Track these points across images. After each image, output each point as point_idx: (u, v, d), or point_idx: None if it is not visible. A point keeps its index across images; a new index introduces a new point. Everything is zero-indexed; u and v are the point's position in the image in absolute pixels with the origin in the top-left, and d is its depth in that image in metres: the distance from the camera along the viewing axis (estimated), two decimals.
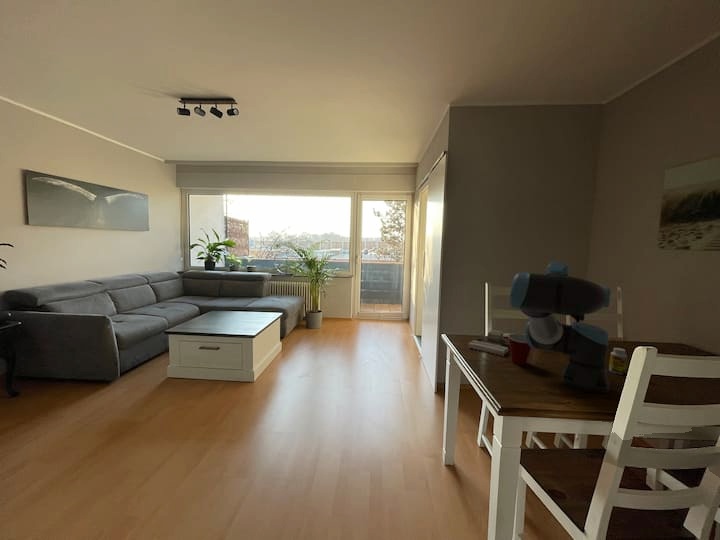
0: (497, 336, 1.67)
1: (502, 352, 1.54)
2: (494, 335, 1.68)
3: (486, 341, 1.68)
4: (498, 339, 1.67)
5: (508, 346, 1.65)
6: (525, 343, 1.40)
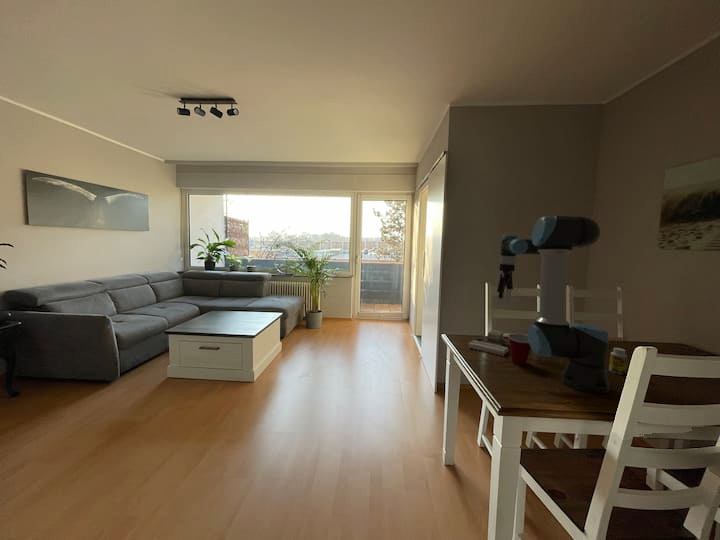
0: (497, 336, 1.67)
1: (502, 352, 1.54)
2: (494, 335, 1.68)
3: (486, 341, 1.68)
4: (498, 339, 1.67)
5: (508, 346, 1.65)
6: (525, 343, 1.40)
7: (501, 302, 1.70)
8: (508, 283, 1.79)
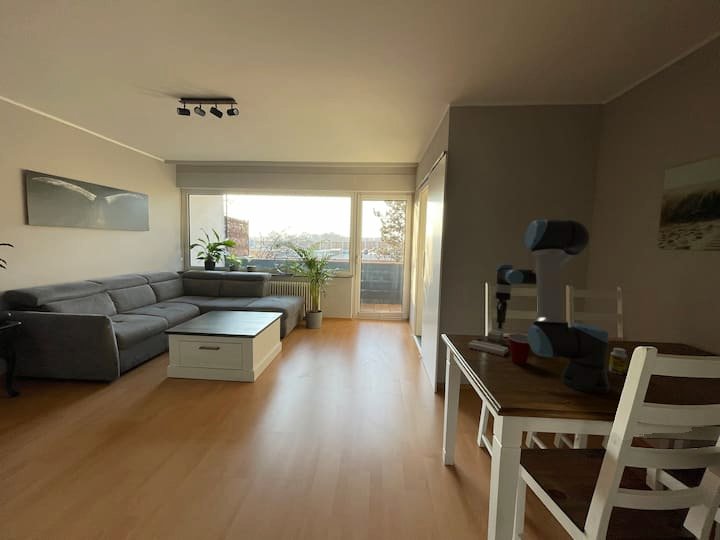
0: (497, 336, 1.67)
1: (502, 352, 1.54)
2: (494, 335, 1.68)
3: (486, 341, 1.68)
4: (498, 339, 1.67)
5: (508, 346, 1.65)
6: (525, 343, 1.40)
7: None
8: None
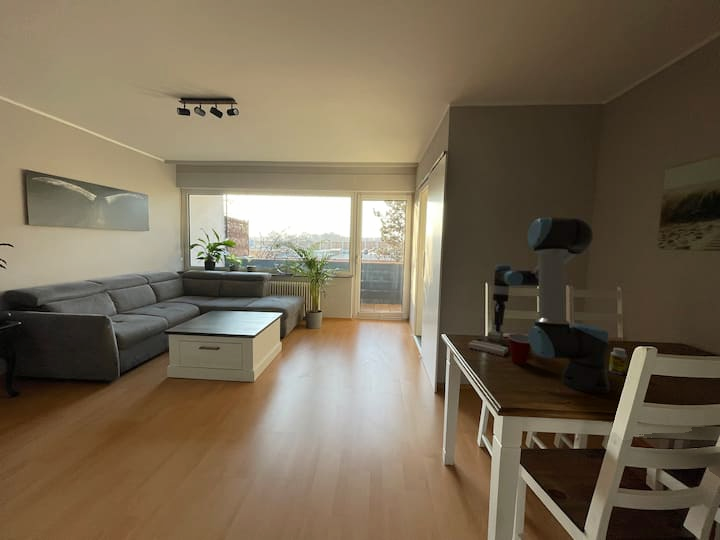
0: (497, 336, 1.67)
1: (502, 352, 1.54)
2: (494, 335, 1.68)
3: (486, 341, 1.68)
4: (498, 339, 1.67)
5: (508, 346, 1.65)
6: (525, 343, 1.40)
7: None
8: None
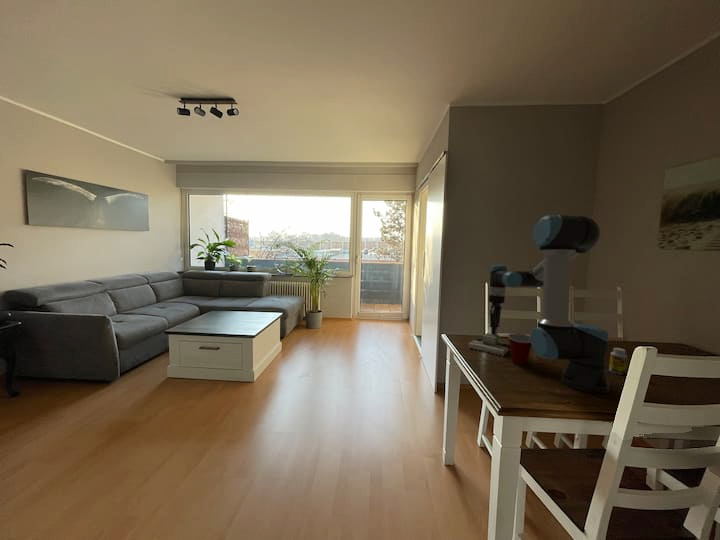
0: (492, 339, 1.61)
1: (502, 352, 1.54)
2: (489, 338, 1.62)
3: None
4: (494, 342, 1.61)
5: (508, 346, 1.65)
6: (525, 343, 1.40)
7: None
8: None
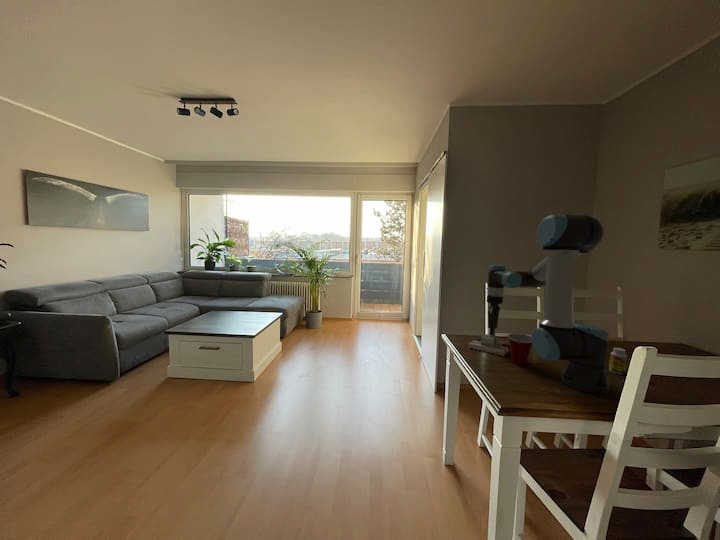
0: (491, 340, 1.59)
1: (502, 352, 1.54)
2: (487, 339, 1.60)
3: None
4: (492, 344, 1.59)
5: (508, 346, 1.65)
6: (525, 343, 1.40)
7: None
8: None
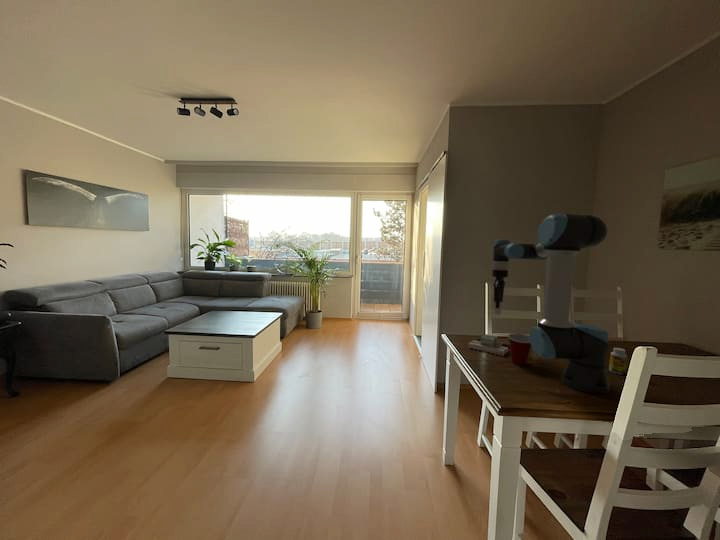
0: (490, 340, 1.59)
1: (502, 352, 1.54)
2: (487, 339, 1.60)
3: None
4: (492, 344, 1.59)
5: (508, 346, 1.65)
6: (525, 343, 1.40)
7: (498, 312, 1.69)
8: None
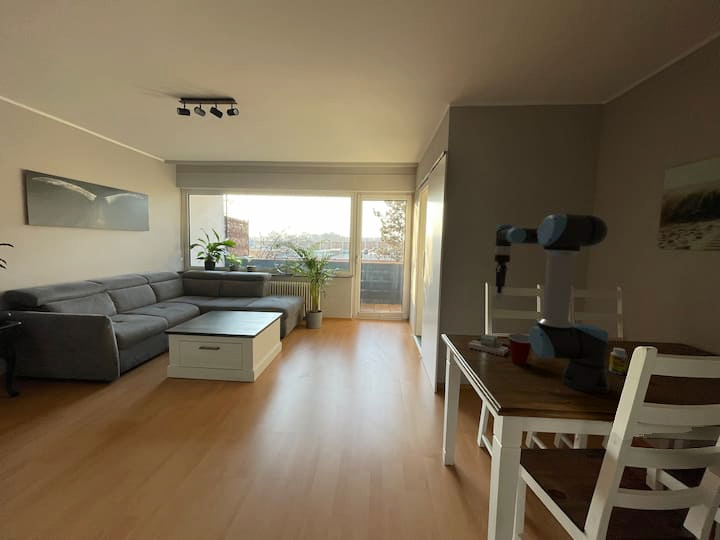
0: (490, 340, 1.59)
1: (502, 352, 1.54)
2: (487, 339, 1.60)
3: None
4: (492, 344, 1.59)
5: (508, 346, 1.65)
6: (525, 343, 1.40)
7: (500, 297, 1.70)
8: None
